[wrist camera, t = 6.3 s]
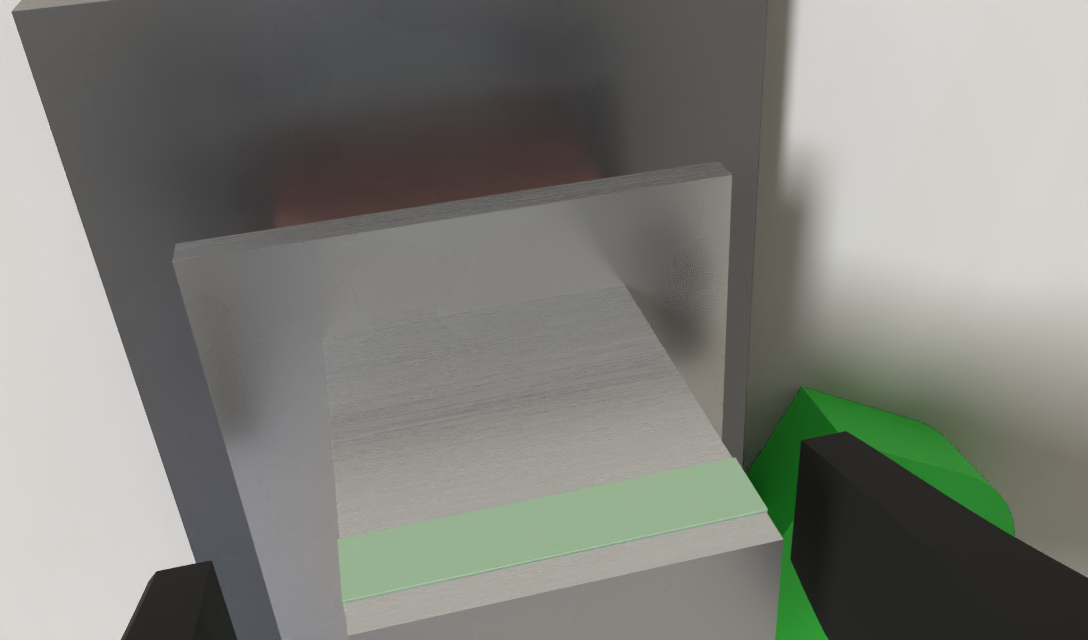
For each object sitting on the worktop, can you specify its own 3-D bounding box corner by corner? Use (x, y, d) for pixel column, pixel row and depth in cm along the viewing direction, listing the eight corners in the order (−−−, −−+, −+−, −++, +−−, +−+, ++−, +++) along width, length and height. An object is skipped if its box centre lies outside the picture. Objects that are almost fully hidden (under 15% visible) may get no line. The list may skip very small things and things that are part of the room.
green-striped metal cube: (631, 510, 16) (762, 800, 11) (369, 565, 15) (407, 894, 11) (625, 283, 13) (785, 538, 9) (320, 335, 13) (345, 634, 9)
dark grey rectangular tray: (719, 520, 21) (791, 649, 18) (231, 624, 20) (225, 784, 17) (743, -86, 15) (858, -39, 12) (28, -8, 13) (-42, 70, 10)
